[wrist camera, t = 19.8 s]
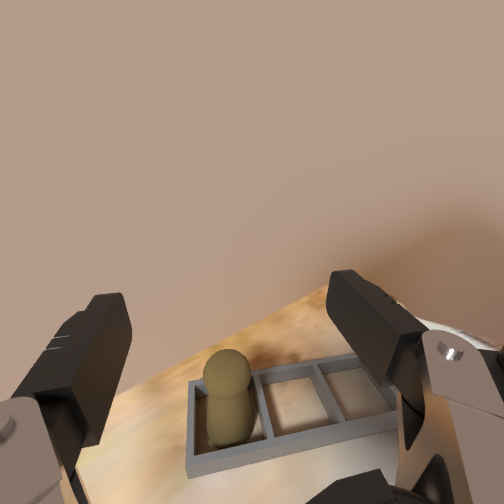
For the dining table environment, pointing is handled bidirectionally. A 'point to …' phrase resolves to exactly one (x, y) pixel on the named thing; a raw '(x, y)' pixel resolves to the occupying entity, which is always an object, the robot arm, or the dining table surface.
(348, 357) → the frame
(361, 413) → the dining table surface
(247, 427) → the cork
